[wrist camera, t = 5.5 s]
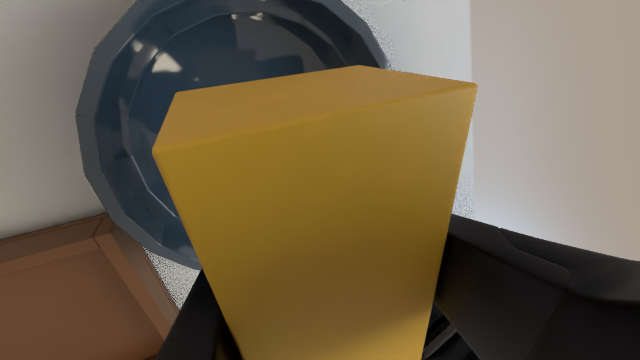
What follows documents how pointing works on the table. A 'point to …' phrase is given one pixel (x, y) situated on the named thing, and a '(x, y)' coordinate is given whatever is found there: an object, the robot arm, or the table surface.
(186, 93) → the block
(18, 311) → the tray
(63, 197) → the table surface
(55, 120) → the table surface
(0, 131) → the table surface
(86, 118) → the bowl
